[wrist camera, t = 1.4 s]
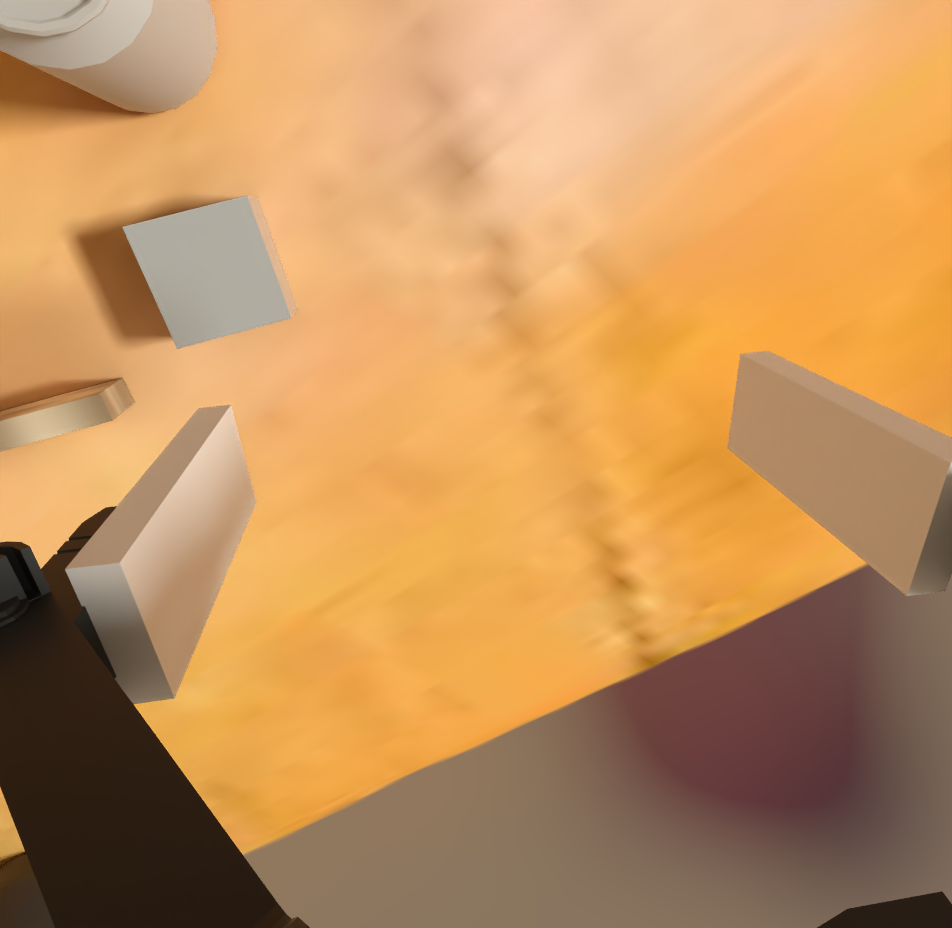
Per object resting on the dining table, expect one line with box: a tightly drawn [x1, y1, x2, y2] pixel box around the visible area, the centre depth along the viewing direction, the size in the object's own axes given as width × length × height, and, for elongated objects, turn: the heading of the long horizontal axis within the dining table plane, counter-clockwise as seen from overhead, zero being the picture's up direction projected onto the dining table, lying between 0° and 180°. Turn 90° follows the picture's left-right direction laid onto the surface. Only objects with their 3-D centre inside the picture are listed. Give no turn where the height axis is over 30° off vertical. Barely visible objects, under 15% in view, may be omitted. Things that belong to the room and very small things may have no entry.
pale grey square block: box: [122, 195, 297, 349], centre depth 31 cm, size 6×6×4 cm
